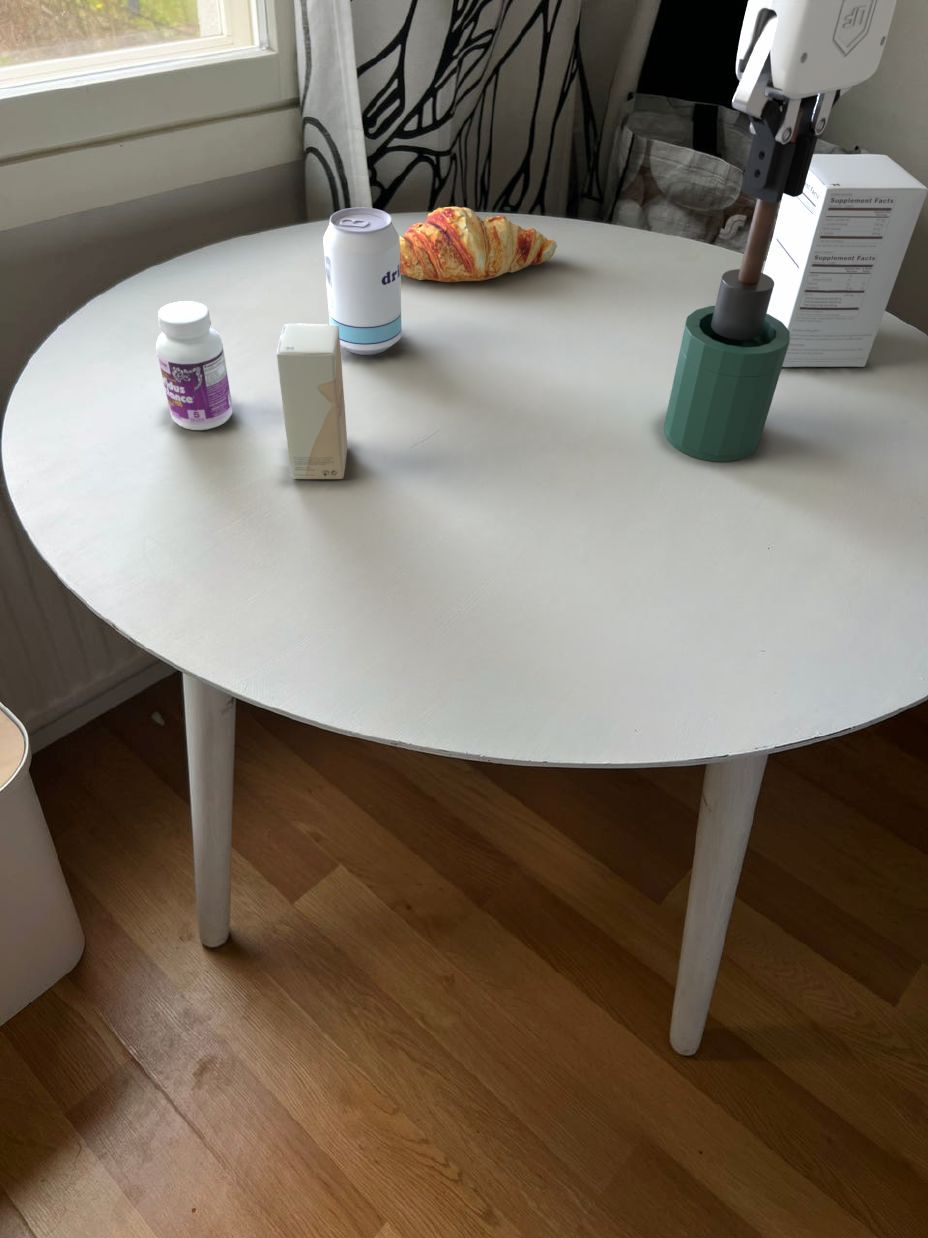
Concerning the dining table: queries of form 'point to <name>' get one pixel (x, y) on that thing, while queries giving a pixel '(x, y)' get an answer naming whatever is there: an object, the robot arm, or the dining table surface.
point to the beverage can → (363, 279)
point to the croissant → (469, 247)
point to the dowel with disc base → (749, 277)
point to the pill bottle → (193, 366)
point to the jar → (723, 388)
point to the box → (313, 400)
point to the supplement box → (840, 256)
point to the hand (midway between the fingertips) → (771, 192)
